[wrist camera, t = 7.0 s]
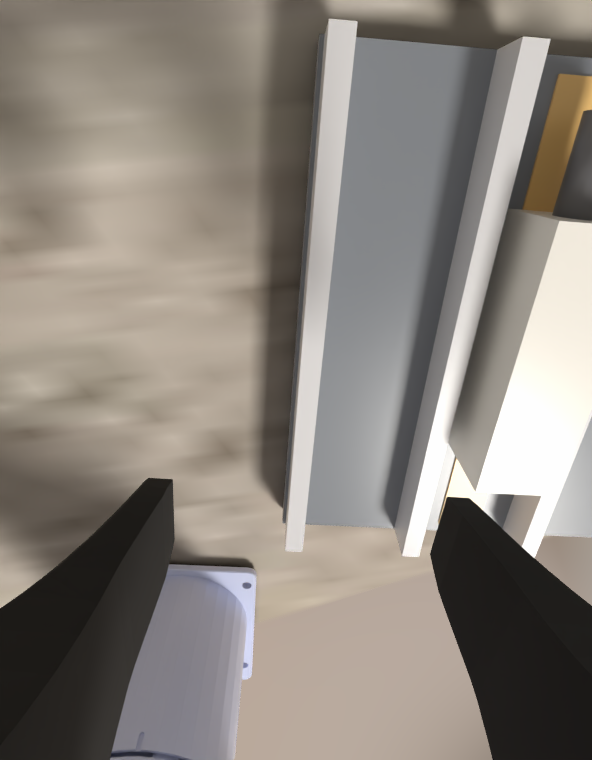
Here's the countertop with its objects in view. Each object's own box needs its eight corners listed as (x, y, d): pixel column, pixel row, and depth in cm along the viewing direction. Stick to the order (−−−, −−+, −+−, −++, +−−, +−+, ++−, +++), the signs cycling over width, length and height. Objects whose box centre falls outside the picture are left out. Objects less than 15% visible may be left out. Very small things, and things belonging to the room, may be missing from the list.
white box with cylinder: (516, 445, 21) (555, 496, 18) (447, 441, 21) (475, 492, 18) (626, 121, 15) (712, 112, 12) (533, 112, 15) (596, 101, 12)
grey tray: (611, 524, 25) (647, 566, 22) (282, 509, 24) (282, 551, 21) (823, 85, 16) (922, 72, 14) (318, 40, 15) (323, 18, 13)
